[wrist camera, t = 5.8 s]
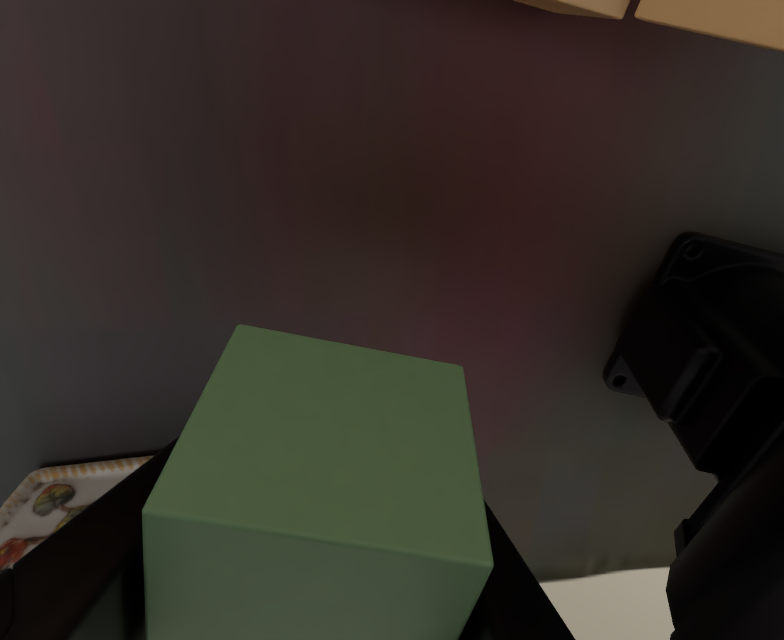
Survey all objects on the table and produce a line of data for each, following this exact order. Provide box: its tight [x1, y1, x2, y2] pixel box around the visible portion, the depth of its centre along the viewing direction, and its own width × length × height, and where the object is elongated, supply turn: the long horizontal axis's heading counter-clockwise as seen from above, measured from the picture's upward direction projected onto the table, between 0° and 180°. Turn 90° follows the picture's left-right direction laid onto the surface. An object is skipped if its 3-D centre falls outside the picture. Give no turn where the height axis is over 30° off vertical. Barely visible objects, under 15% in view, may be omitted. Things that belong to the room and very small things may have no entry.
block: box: [142, 324, 494, 640], centre depth 9 cm, size 4×4×4 cm
